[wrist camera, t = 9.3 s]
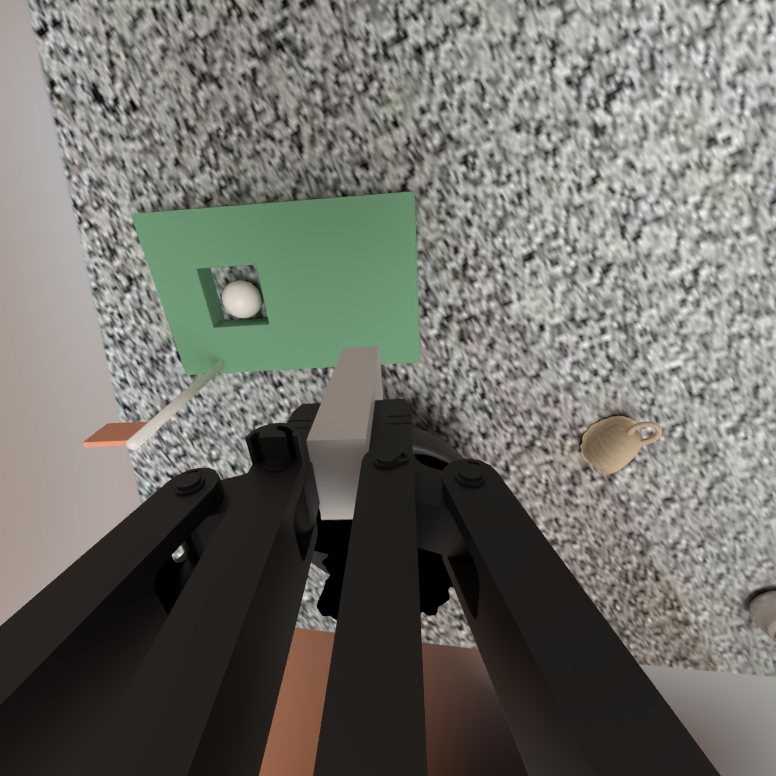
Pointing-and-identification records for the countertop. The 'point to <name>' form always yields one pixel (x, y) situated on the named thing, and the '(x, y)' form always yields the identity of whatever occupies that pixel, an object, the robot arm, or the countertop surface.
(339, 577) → the coal bowl
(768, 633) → the plastic bottle
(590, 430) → the decorative ornament
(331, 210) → the green
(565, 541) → the countertop surface
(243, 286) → the ball
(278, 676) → the robot arm
